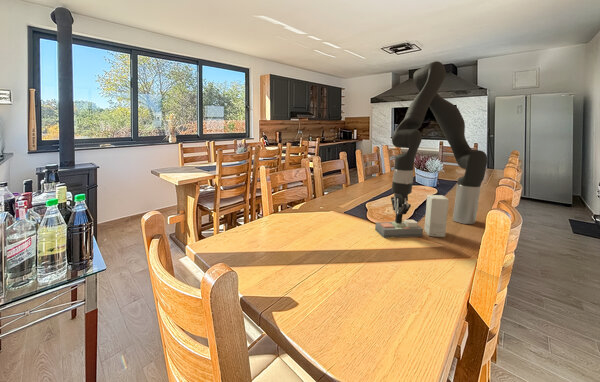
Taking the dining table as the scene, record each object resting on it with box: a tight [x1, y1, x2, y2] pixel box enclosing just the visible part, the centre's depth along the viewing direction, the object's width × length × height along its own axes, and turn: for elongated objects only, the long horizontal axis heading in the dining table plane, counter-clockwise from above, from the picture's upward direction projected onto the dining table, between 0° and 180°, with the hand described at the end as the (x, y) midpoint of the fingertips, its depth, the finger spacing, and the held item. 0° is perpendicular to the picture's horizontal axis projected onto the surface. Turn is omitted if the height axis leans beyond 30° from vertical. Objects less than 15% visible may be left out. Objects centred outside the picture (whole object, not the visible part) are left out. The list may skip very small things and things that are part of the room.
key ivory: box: [402, 219, 419, 227], centre depth 117 cm, size 4×4×2 cm
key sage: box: [391, 220, 406, 228], centre depth 117 cm, size 4×4×2 cm
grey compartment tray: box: [374, 221, 424, 239], centre depth 117 cm, size 16×9×3 cm, turn 97°
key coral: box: [380, 223, 394, 228], centre depth 116 cm, size 4×4×2 cm
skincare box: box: [423, 194, 450, 238], centre depth 116 cm, size 8×7×16 cm
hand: (398, 222), depth 117 cm, fingers closed
